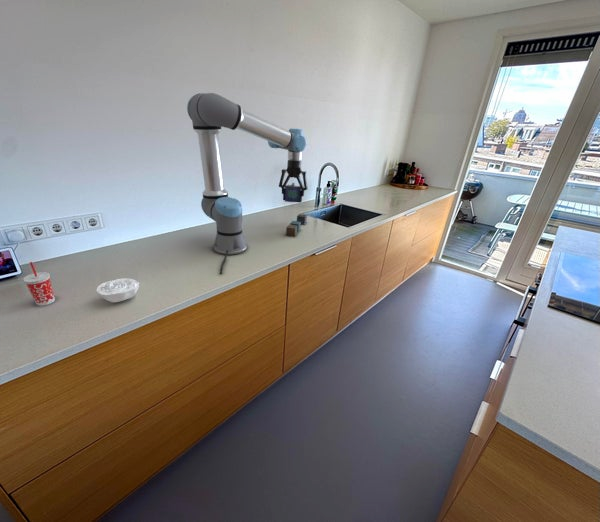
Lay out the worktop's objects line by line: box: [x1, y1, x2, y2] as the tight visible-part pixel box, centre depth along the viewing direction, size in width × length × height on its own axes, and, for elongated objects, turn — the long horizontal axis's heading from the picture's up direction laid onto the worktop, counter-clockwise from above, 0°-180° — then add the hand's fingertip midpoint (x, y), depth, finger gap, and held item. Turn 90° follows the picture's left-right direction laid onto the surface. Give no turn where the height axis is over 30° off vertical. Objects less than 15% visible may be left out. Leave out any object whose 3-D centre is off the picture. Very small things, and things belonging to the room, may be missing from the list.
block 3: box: [296, 213, 308, 226], centre depth 178 cm, size 5×5×5 cm
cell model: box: [96, 277, 140, 304], centre depth 94 cm, size 10×12×7 cm
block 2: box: [285, 224, 298, 238], centre depth 158 cm, size 5×5×5 cm
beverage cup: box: [22, 261, 56, 307], centre depth 88 cm, size 6×6×14 cm
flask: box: [284, 182, 301, 203], centre depth 163 cm, size 9×3×11 cm, turn 88°
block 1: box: [289, 220, 302, 234], centre depth 165 cm, size 5×5×5 cm
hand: (292, 200), depth 165 cm, fingers closed on flask, 9 cm apart
